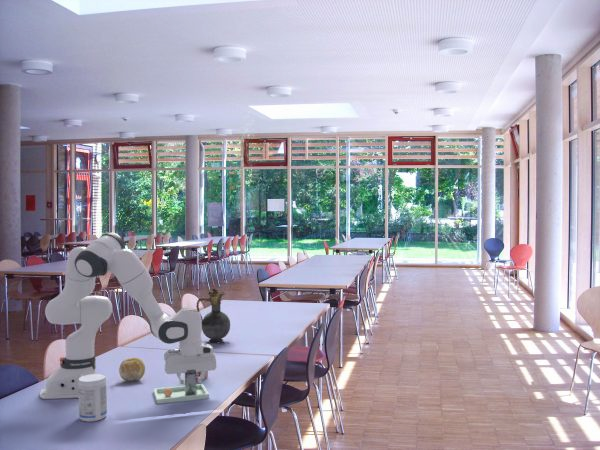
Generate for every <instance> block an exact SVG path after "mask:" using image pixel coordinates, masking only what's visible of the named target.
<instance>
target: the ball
mask: <svg viewBox="0 0 600 450" xmlns="http://www.w3.org/2000/svg"><path fill="white" fill-rule="evenodd" d="M166 388H167V387H166ZM164 395H165V396H167V397H169V396H171V395H172V390H171V389H170V388H167V389H165V391H164Z"/></svg>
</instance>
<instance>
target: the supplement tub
mask: <svg viewBox="0 0 600 450" xmlns="http://www.w3.org/2000/svg"><path fill="white" fill-rule="evenodd" d="M78 396H79V398H78V418H79V420H81V421H83V422H97V421H100V420H103V419H104V418H106V416H107V415H108V409H107V408H108V405H107V404H108V402H107V379H106V375H104V374H101V373H95V374H89V375H85V376H82V377H80V378H79V382H78Z"/></svg>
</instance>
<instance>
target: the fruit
mask: <svg viewBox="0 0 600 450" xmlns="http://www.w3.org/2000/svg"><path fill="white" fill-rule="evenodd" d="M118 371H119V376H120V377H121V379H122V380H123V381H125V382H135V381H139V380H141V379H142V378H143V377H144V375H145V373H146V365H145V363H144V362H143V360H142V359H141V358H139V357H129V358H128V359H124V360H123V361H122V362H121V363H120V364H119V369H118Z"/></svg>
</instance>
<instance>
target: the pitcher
mask: <svg viewBox="0 0 600 450" xmlns="http://www.w3.org/2000/svg"><path fill="white" fill-rule="evenodd" d="M211 290H212V292H211V291H208V293H207V294H208V296H209V297H208V298H207V297H200V298H198V299H197V301H196V310H198V311H199V312H200V308H199V304H200V302H202V301H204V302H209V303H210V305H211V311H210V312H207V314H205V316H204V317H203V316H202V315H201V321H202V331H201V332H202V333H203V335H204V336H205V337H206V338H208V342H209V343H211V344H219V343H223V342H224V339H223V338H225V337H227V336H228V334H229V332H230V329H231V319H230V318H229V317H228V315H227V314H226V313H224V312H222V311H221V304H222V302H221V300H222V297H223V296H227V295H228V294H227V293H226V292H223V291H220V292H219V290H218V289H215V288H211ZM200 313H201V312H200Z"/></svg>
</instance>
